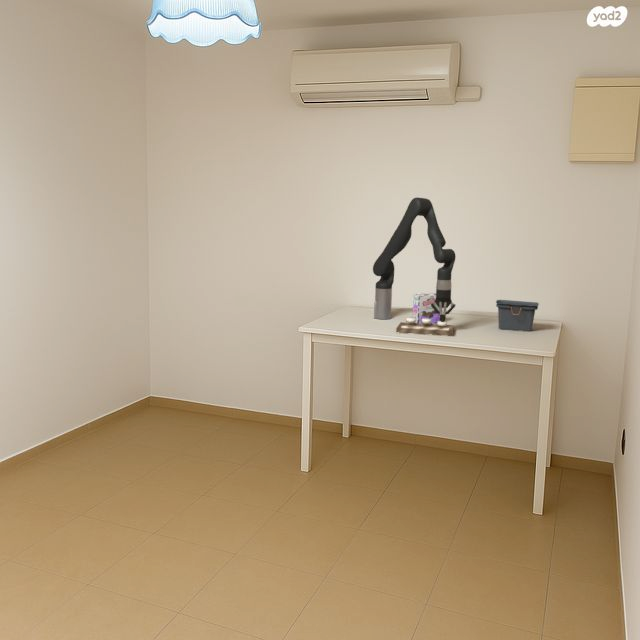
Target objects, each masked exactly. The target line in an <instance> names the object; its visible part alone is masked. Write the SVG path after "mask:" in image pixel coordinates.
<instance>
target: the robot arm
mask: <svg viewBox="0 0 640 640" xmlns="http://www.w3.org/2000/svg"><path fill="white" fill-rule="evenodd" d="M419 216H420V217H423V218H424V219H425V222H426V224H427V231H426V232H427V237H428V239H429V242H430V243H431V245H432V252H433V257H434V260H435V262H437V263H438V264H443V266H441V267H439V268H438V269H437V272H436V273H437V275H436V286H435V288H436V289H435V293H436V299H435V302H433V303H431V306H432V308H433V309H434V310H435V312H436V313H437V314H440V317H439V321H441V322H444V321H446V317H447V316H446V315H449V314H450V313H451V312H452V310H453V309H455V308H456V304H455V303H453V300H452V272H453V268H454V265H455V262H456V253H455V250H453V249H452V248H444V247H445V246H446V243H447V242H446V239H445V236H444V235H443V232H442V231H441V229H440V226H439V223H438V221H437V219H438V218H437V215H436V213H435V209H434V206H433V203H432V201H431V200H430V199H428V198H425V197H414V198H412V199H411V200H410V202H409V204H408V205H407V208H406V209H405V212H404V214H403V217H402V218H401V221H400V223H399V224H398V226H397V227H396V229H395V231H394V232H393V234H392V235H391V237H390V239H389V241H388V243H387V244H386V246H385V247H384V249H383V251H382V252H381V254H379V256H378V258H377V259H376V260H375V261H374V263H373V266H372V272H373V274H374V275H375V277H376V276H377V277H380V278H379V280H378V281H376V283H375V287H374V288H375V290H374V291H375V296H374V304H373V305H374V307H373V319H376V318H377V319H376V320H390V319H391V318H392V297H393V294H392V293H393V285H394V281H395V279H394V278H395V263H394V262H393V259H394V258H395V257H396V256H397V255H398V254H400V252H402V251H403V250H404V249H405V248H406V247H407V245H408V244H409V241H410V240H411V238H412V233H413V232H412V231H413V230H412V227H413V223H414V221H415V220H416V218H417V217H419ZM436 304H437V306H438V307H439V309H440V311H438V309H437V308H436V307H435V306H436ZM449 307H450V308H449ZM447 308H449V309H448V310H447Z"/></svg>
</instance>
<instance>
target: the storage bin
mask: <svg viewBox="0 0 640 640" xmlns="http://www.w3.org/2000/svg"><path fill="white" fill-rule="evenodd" d="M539 305H540V303H539V302H537V301H534V302H533V301H523V300H522V301H520V300H509V299H496V301H495V306H496V307H497V310H498V311H497V312H498V313H497V314H498V315H497V316H498V317H497V319H498V329H499V330H506V329H509V331H519V330H523V331H522V332H531V331H532V330H533V325H534V319H535V313H536V311H537V310H538V308H539Z"/></svg>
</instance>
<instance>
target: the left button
mask: <svg viewBox="0 0 640 640" xmlns="http://www.w3.org/2000/svg"><path fill="white" fill-rule="evenodd" d="M415 322H416V318H413V316H411V317H410V316H409V317H408V316H407V317H406V321H405V323H415Z"/></svg>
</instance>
